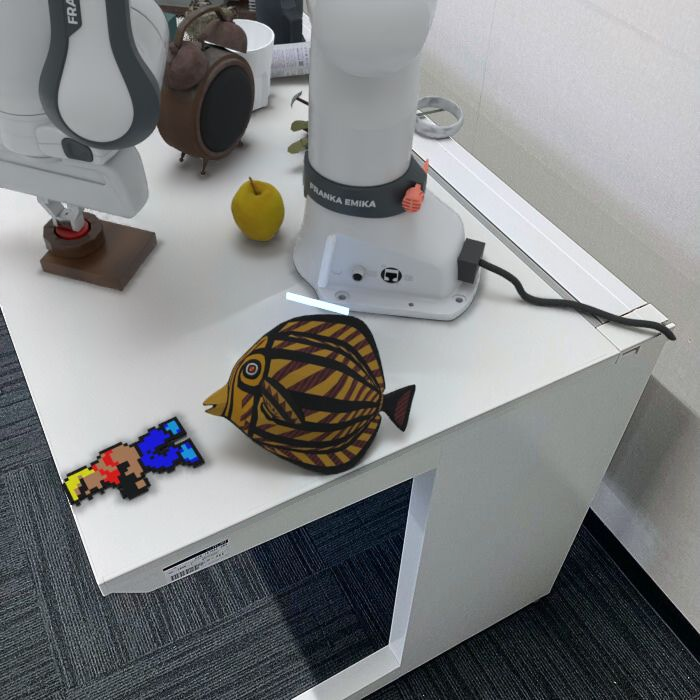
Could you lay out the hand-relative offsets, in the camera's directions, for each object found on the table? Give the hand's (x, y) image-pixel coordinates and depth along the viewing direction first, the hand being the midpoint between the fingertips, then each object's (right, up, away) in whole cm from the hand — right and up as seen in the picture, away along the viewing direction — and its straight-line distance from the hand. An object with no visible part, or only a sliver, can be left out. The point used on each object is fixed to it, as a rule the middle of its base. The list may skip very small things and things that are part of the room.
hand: (70, 226), depth 89 cm
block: (+3, -3, +2) cm, 5 cm away
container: (+29, +32, +31) cm, 53 cm away
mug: (+21, +34, +38) cm, 55 cm away
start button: (0, -1, +1) cm, 2 cm away
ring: (+45, +21, +24) cm, 55 cm away
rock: (+13, +44, +43) cm, 63 cm away
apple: (+21, 0, +6) cm, 22 cm away
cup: (+16, +24, +28) cm, 40 cm away
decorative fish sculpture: (+27, -25, -18) cm, 41 cm away
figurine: (+22, +15, +15) cm, 31 cm away
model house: (+9, +48, +51) cm, 71 cm away
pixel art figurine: (+17, -23, -15) cm, 32 cm away
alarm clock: (+14, +12, +18) cm, 25 cm away
